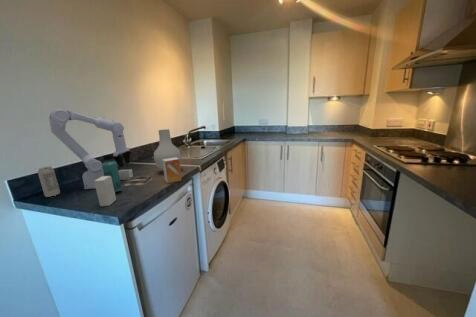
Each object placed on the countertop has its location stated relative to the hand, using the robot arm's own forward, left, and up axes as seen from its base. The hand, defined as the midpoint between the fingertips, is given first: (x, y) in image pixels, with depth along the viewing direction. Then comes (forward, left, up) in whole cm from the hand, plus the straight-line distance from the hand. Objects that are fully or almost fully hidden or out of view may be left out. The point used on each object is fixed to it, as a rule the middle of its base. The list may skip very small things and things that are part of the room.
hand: (124, 164), depth 123 cm
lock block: (-1, 0, -9) cm, 9 cm away
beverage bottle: (+6, -23, -9) cm, 26 cm away
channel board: (+11, -9, -9) cm, 17 cm away
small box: (+31, -9, -9) cm, 34 cm away
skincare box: (+9, -35, -9) cm, 38 cm away
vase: (+23, +10, -9) cm, 27 cm away
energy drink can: (-27, -22, -9) cm, 36 cm away
